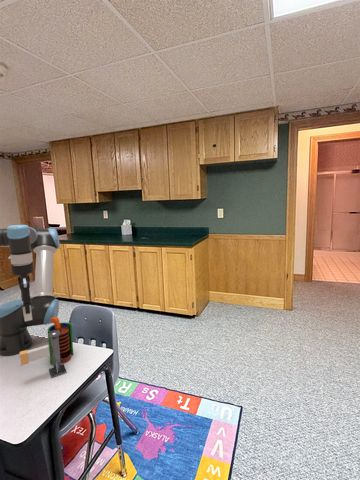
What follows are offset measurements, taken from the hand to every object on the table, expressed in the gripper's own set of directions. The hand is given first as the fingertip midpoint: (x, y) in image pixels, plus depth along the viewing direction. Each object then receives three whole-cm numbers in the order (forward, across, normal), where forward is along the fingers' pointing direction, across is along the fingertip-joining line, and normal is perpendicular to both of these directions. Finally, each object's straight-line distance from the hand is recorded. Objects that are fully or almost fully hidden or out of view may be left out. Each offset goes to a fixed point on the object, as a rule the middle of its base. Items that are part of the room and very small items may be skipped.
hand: (27, 317), depth 109 cm
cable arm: (+16, +6, +1) cm, 17 cm away
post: (+25, +6, +8) cm, 27 cm away
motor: (+25, -3, +12) cm, 28 cm away
